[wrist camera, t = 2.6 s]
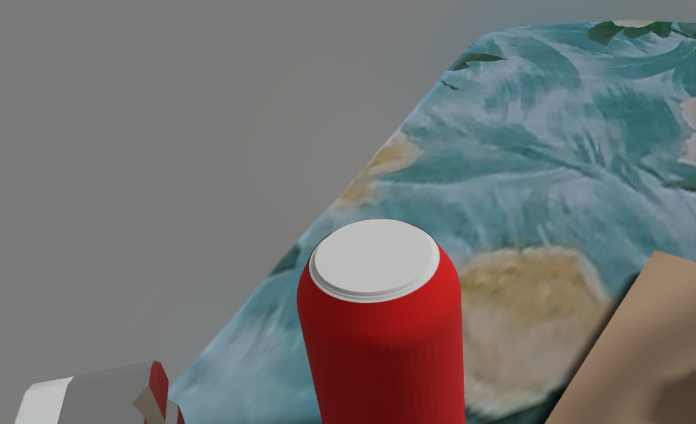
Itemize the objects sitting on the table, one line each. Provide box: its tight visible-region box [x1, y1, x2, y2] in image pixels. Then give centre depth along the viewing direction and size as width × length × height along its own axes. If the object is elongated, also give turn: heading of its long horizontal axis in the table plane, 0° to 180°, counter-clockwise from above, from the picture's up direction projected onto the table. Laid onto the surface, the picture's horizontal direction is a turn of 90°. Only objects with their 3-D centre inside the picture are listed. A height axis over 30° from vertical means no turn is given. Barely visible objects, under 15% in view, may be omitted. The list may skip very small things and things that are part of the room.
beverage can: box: [297, 219, 465, 424], centre depth 26 cm, size 6×6×12 cm
